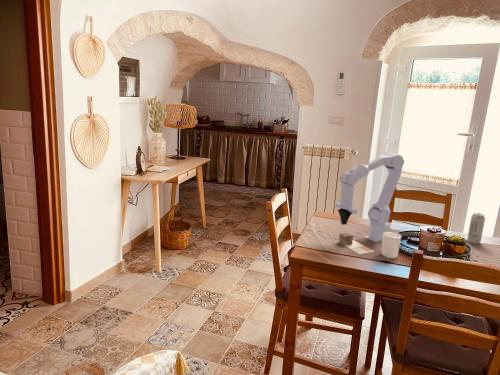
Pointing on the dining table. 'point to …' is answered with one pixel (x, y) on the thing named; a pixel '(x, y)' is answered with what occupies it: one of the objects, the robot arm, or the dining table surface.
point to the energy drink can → (476, 228)
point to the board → (359, 248)
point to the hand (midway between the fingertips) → (343, 224)
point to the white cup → (391, 244)
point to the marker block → (346, 238)
